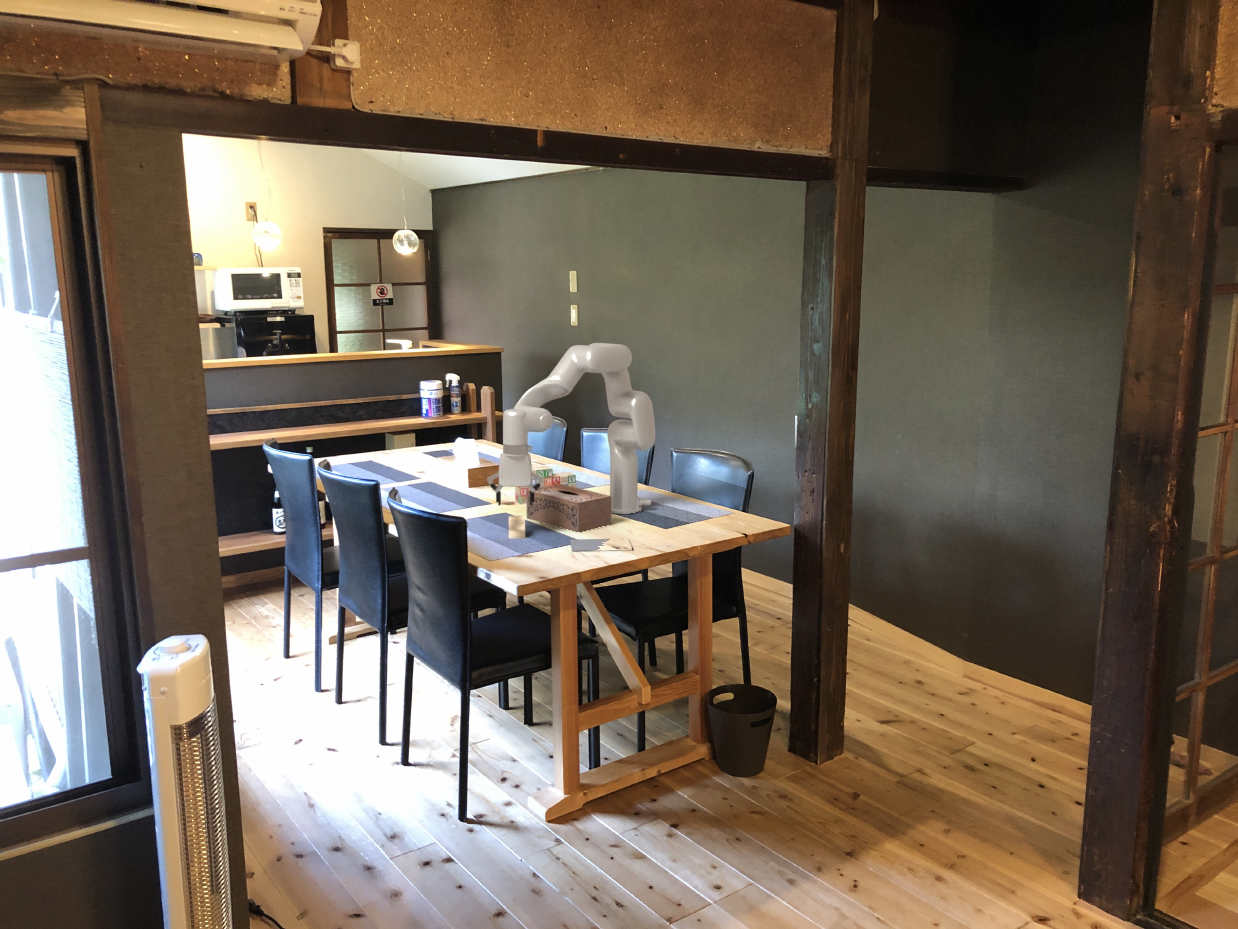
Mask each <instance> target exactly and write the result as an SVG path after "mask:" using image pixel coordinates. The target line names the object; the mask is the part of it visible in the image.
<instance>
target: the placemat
mask: <svg viewBox="0 0 1238 929" xmlns="http://www.w3.org/2000/svg"><path fill="white" fill-rule="evenodd" d="M608 539H609V538H589V539H587V538H585V539H583V538H581V539H578V538H577V539H569V543H570V548H571V552H572V551H585V552H593V551H592V550H598V549H600V547H598V546H604V545H602V544H604V543H602V542H606V541H608Z"/></svg>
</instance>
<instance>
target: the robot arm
mask: <svg viewBox="0 0 1238 929" xmlns="http://www.w3.org/2000/svg"><path fill="white" fill-rule="evenodd" d="M632 355H633V354H632V351H631V349H630V348H629V347H628V346H627V345H624V344H619V343H608V342H593V343H591V344H589V345H584V344H576V345H572V346H570V347H569V348H568V349H567V351H566V352H565V353H564V355H563V356H562V357H561V359H560V360H559V361H558V363H557V364H556V366H554V368H553V369H552V371H551V372H550V374H549V375H548V376H547V377H546V378H544V379H542V380H541V381H539V382H538V383H537V384H535V385H534V386H532V387H531V388H529V389H527V391H526V392H524V394H522V395H521V397H520V398H519V400H518V401H517V403H516V404H515V405H514V407H513V408H510V409H506V410H504V412H503V414H502V453H500V456H499V462H498V471H497V472H496V473H494V474H492V475H490V476H487V477H486V481H487V483H488V485H489V486H490V488H491V489H492V490H493V491H494V492H495V502H496V503H497V506H501V505H502V492H501V490H502V489H503V487H506V488H515V487H528V488H529V489H530V505H532V502H534V492H535V491H536V490H537V489H538V488H539V487H540V486H541V484H542V482H543V480H544V479H543V477H541V476H539V475H537V474H535V473H533V472H532V467H533V466H532V465H533V464H532V457H531V454H530V453H529V452H530V451H533V445H529V433H545V432H546V431H548V430H550V428H551V427H552V426H553V423H554V417H553V415H552V413H551V412H550V411H549V410H548V409H546V408H543V407H541V406H543V405H545V404H547V403H549V402H551V401H554V400H557V399H559V398H560V399H561V398H563V397H566V396H568V395H569V394H570V393H571V392H572V391H573V389H574V388H575V387H576V384H577V383H578V382H579V381H580V380H581V378H582V376H583V375H584V374H585V373H592V374H601V375H602V377H603V379H604V383H605V391H606V400H607V406H608V411H609V412H610V414H611V415H612V416H613V417H616V418H617V417H618V418H623V419H617V420H614V421H612V422H611V423H610V424H609V426H608V428H607V433H606V434H607V442H608V448H609V457H610V458H609V459H610V460H609V464H610V466H609V468H610V469H609V470H610V473H609V478H610V479H609V485H610V486H609V495H610V496H611V514H617V515H630V514H631V513H633V514H637V513H636V512H638V513H640V512H642V510H643V508H642V507H643V506H651V504H652V500H651V499H646V498H642V499H641V498H640V497H639V496H638V480H639V479H638V478H639V477H638V476H639V475H638V472H639V471H638V470H639V468H638V467H639V461H638V455H637V453H636V451H642V452H643V451H644V452H645V451H648V450H650V449H652V447H653V446H654V445H655V441H656V424H655V416H654V407H653V401H652V400H651V398H650V396H649V395H648V394H647V393H646V392H643V391H640V390H634V389H633V388H632V384H631V383H632V382H631V378H630V373H629V370H628V368H629V367H630V365H631V363H632V360H633V356H632ZM532 477H533V478H535V479H537V480H538V482H537V484H536V485H535V486H533V485H532V484H531V483H532ZM497 478H498V484H497V485H496V484H495V483H494V482H493V481H494V480H495V479H497ZM639 511H640V512H639ZM631 515H632V514H631Z"/></svg>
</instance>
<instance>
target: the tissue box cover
mask: <svg viewBox="0 0 1238 929" xmlns="http://www.w3.org/2000/svg"><path fill="white" fill-rule="evenodd" d="M526 498H527V504H526V519H527V520H532V521H536V522H538V523H543V524H546V525H549V526H553V527H556V526H557V527H556V528H559V527H561V528H560V529H563V528H564V530H567V529H568V530H567V531H570V530H572V531H571V532H574V531H575V532H574V533H577V532H580V533H583V531H584V532H588V531H592V530H591V529H593V530H596V529H595V528H597V529H599V528H598V527H601V528H603V527H602V526H605V527H608V526H607V525H609V526H611V525H612V513H611V496H610V494H605V493H601V492H596V491H592V490H587V489H583V488H578V487H576V488H575V487H571V486H566V485H562V484H555V485H550V486H545V487H539V488H538V489H537V490H536V491H535V492H534V502H532V505H530V489H529V490H526ZM610 524H611V525H610ZM587 530H588V531H587Z"/></svg>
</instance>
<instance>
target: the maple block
mask: <svg viewBox="0 0 1238 929" xmlns="http://www.w3.org/2000/svg"><path fill="white" fill-rule="evenodd" d="M508 539H526V516H525V515H508Z"/></svg>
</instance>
